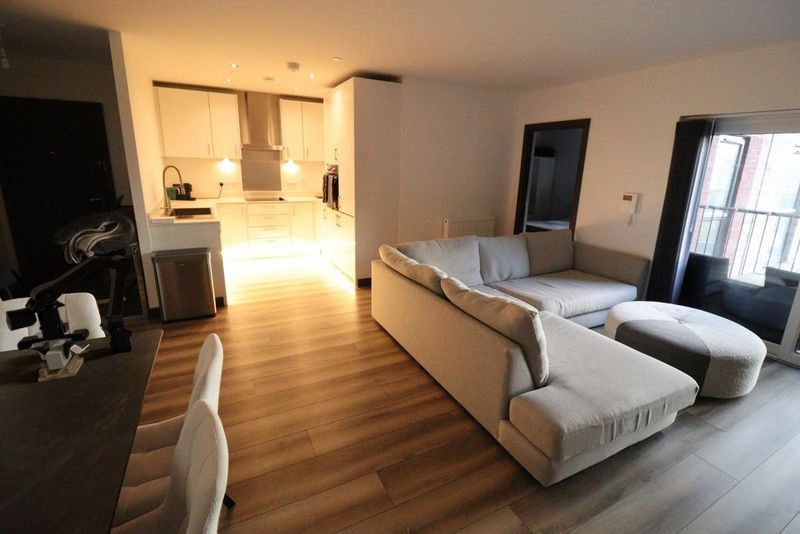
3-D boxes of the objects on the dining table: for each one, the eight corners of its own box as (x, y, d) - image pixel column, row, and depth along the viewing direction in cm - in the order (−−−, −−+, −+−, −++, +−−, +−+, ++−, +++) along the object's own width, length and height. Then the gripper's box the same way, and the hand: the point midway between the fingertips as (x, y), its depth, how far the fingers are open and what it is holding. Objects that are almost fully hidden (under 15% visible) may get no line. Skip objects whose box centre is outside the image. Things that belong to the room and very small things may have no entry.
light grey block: (71, 356, 142) (68, 341, 140) (63, 367, 134) (59, 352, 133) (57, 358, 140) (54, 344, 139) (49, 370, 133) (44, 355, 131)
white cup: (44, 353, 150) (38, 330, 147) (68, 349, 153) (63, 327, 150) (35, 362, 143) (29, 338, 140) (61, 358, 146) (55, 335, 144)
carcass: (84, 359, 146) (80, 346, 144) (74, 375, 135) (71, 360, 134) (51, 365, 141) (47, 351, 140) (38, 381, 131) (34, 366, 129)
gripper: (89, 309, 144) (97, 345, 148) (25, 316, 136) (35, 354, 140) (80, 319, 134) (89, 358, 138) (11, 328, 126) (22, 369, 130)
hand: (60, 359), depth 137 cm, fingers closed on light grey block, 4 cm apart
